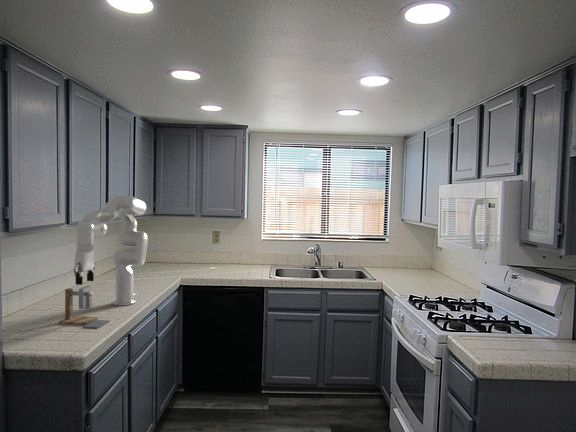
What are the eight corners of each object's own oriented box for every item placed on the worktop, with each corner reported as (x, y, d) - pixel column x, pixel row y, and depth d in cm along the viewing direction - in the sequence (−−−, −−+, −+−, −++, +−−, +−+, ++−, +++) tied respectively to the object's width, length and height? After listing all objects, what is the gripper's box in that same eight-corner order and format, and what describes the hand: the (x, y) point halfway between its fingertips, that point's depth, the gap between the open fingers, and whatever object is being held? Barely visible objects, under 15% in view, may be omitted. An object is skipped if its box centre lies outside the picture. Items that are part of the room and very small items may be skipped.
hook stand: (58, 323, 204) (58, 291, 203) (71, 318, 214) (71, 286, 213) (86, 325, 203) (86, 292, 202) (97, 319, 213) (97, 287, 212)
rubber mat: (95, 320, 210) (95, 319, 210) (109, 321, 209) (109, 320, 209) (82, 327, 199) (82, 326, 199) (97, 328, 198) (97, 327, 198)
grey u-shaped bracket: (87, 307, 212) (87, 285, 211) (91, 307, 212) (91, 285, 211) (78, 311, 204) (78, 288, 204) (83, 311, 204) (83, 289, 204)
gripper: (87, 246, 215) (87, 279, 216) (67, 249, 198) (66, 285, 199) (101, 246, 215) (101, 279, 215) (82, 250, 198) (82, 286, 198)
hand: (84, 282), depth 207 cm, fingers open, 9 cm apart
